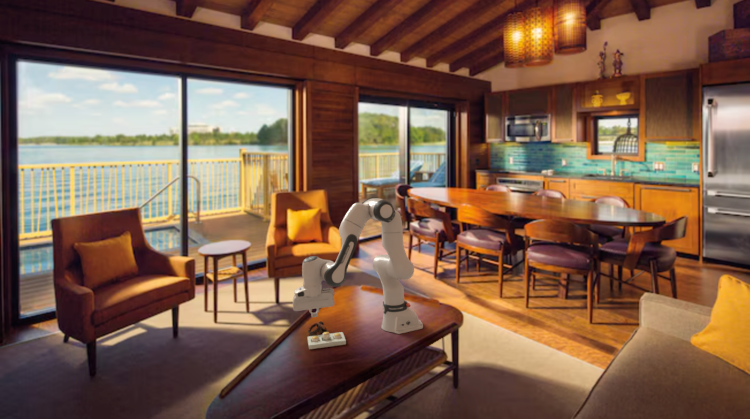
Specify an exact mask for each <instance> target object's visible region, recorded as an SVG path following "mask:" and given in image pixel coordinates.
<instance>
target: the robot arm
mask: <svg viewBox="0 0 750 419" xmlns="http://www.w3.org/2000/svg"><path fill="white" fill-rule="evenodd" d="M371 219H372V220H374V221H379V222H380V225H381V245H382V248H383V249H384V250H385V253H387V254H378V255H377V256H375V257H374V258H373V261H372V268H373V270H374V271H375V272H376V273H377V275H378V278H379V280H380V282H381V286H382V293H383V295H382V296H383V301H382V313H383V314H382V316H383V317H382V322H381V326H380V327H381V328H380V329H382V330H383V331H384V332H385V331H386V332H388V333H389V332H390V333H394V334H397V335H400V334H405V333H408V332H409V333H411V332H413V331H418V330H421V329H423V328H424V323H423V322H422V321H421V319H420V318H419V316H418V314H417V313H416V312H415V310H413V309H411V306H412V305H411V304H410V303H409V302H408V301H407V300H405V288H404V286H403V284H402V283H401V282H400V280H403V281H405V280H407V281H408V280H410V279H411V278H412V277H413V275H414V273H415V266H414V264H413V262H412V261H411V260H410V258H409V257H408V255H407V252H406V250H405V247H404V246H405V245H404V235H403V233H404V230H403V221H402V215H401V213H400V212H399V211H397V210H396V209H395V208H394V206H393V204H392V203H391V202H390V201H388V200H386V199H383V198H375V197H369V198H366V199H365V200H364V201H363V202H355V203H353V204H352V205H351V206H350V207H349V209H348V210H347V212H346V213H345V215H344V216H343V219H342V221H341V223H340V226H339V228H338V234H339V237H340V240H341V248H340V251H339V253H338V255H337V257H336V260H335V262H334V261H333V260H330V259H323V258H320V257H319V256H316V255H313V256H312V255H311V256H308V257H306V258H305V259H303V261H302V265H301V276H302V279H303V283H302V286H299V287H297V288H295V289H294V295H293V298H292V310H293V311H294V312H300V311H307V310H308V313H310V314H311V315H310V316H311V318H317V317H319V316H318V313H319V312H320V309H322V308H329V307H334V306H335V298H334V296H335V289H333V288H331V287H339V286H341V285H342V284H343V283H344V282H345V280H346V278H347V273H348V272H347V271H348V267H349V266H350V265H349V264H350V262H351V259H352V257H353V255H354V253H355V251H356V247H357V245H358V241H359V239H360V236H361V234H362V231H363V230H364V227H365V226H366V223H367V222H369V220H371ZM323 281H325V282H326V284H327V285H329V286H330V287H324V288H322V282H323ZM313 309H316V311H315V312H312V311H313Z"/></svg>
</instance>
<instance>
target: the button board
mask: <svg viewBox="0 0 750 419" xmlns="http://www.w3.org/2000/svg"><path fill="white" fill-rule="evenodd" d="M336 333H337V332H332V333H330V340H326V341H324V340H323V335H322V334H317V335H316V336H318V337H319V341H318V342H312V339H311V338H312V337H313V336H309V335H308V336H306V338H307V344H308V350H314V349H321V348H322V349H323V348H328V347H337V346H344V345H346V344H347V339H346V337H345V335H344V332H342V331H341V332H340V331H339V332H338V333H339V334H341V339H334V334H336Z"/></svg>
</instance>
